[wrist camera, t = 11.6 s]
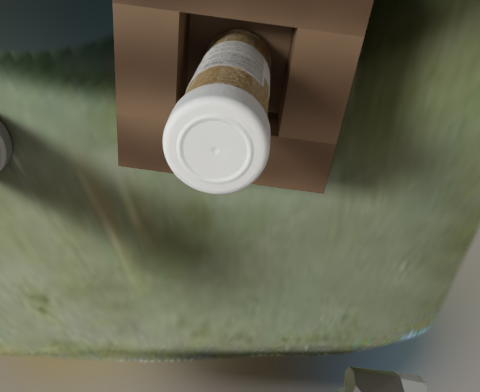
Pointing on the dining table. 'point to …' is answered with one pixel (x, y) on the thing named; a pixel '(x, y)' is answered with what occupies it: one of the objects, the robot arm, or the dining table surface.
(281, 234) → the dining table surface
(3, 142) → the travel mug
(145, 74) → the walnut socket block
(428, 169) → the dining table surface
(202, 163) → the sprinkles bottle
